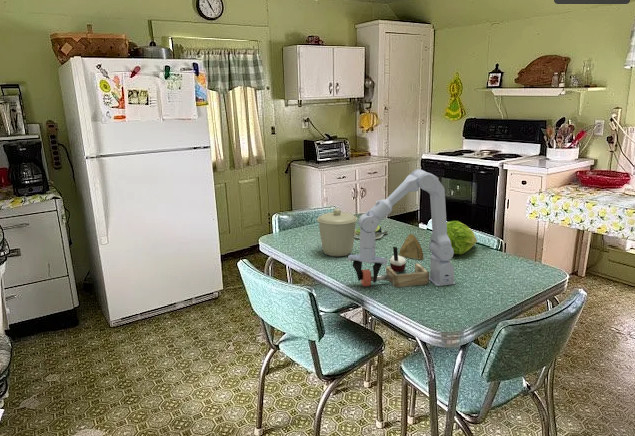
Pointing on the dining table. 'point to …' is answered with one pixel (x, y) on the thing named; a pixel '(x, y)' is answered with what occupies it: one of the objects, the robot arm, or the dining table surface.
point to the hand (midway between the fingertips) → (367, 280)
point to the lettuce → (460, 237)
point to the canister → (337, 232)
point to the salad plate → (378, 233)
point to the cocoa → (397, 261)
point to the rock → (411, 248)
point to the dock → (409, 277)
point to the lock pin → (370, 277)
